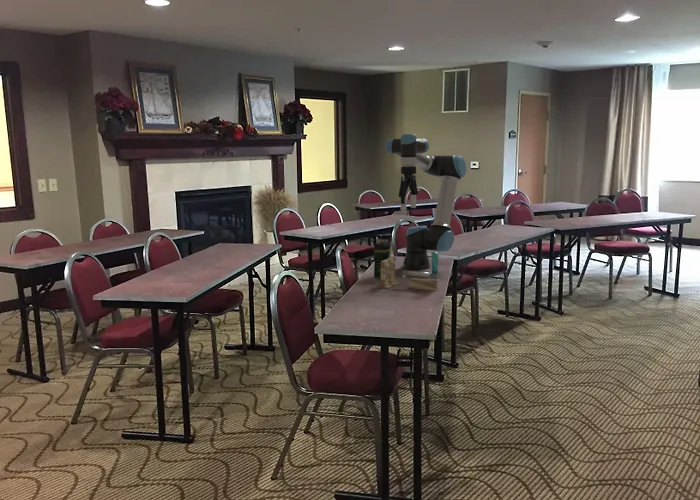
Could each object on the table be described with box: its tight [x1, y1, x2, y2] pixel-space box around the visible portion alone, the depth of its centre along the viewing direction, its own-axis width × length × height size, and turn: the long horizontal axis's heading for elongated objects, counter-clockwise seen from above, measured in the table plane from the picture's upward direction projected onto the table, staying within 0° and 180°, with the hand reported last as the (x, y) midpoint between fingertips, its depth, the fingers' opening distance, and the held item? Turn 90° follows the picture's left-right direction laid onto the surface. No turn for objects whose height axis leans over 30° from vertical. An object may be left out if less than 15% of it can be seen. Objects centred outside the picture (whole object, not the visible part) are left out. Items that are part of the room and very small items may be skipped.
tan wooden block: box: [376, 256, 400, 290], centre depth 286 cm, size 14×6×13 cm, turn 153°
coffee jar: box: [373, 241, 391, 279], centre depth 304 cm, size 10×8×19 cm
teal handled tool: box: [402, 251, 440, 280], centre depth 278 cm, size 3×18×13 cm, turn 63°
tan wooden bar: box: [409, 277, 439, 292], centre depth 279 cm, size 3×13×4 cm, turn 63°
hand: (408, 209), depth 289 cm, fingers open, 13 cm apart
